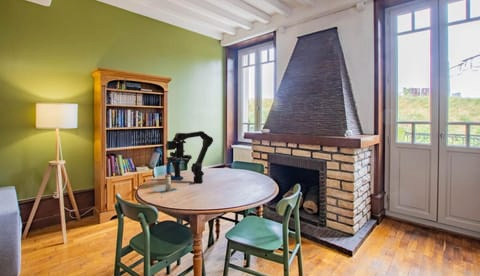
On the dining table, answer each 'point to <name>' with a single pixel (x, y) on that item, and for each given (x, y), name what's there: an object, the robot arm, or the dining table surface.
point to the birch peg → (167, 183)
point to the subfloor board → (161, 189)
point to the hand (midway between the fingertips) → (180, 169)
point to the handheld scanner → (177, 171)
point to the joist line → (167, 191)
